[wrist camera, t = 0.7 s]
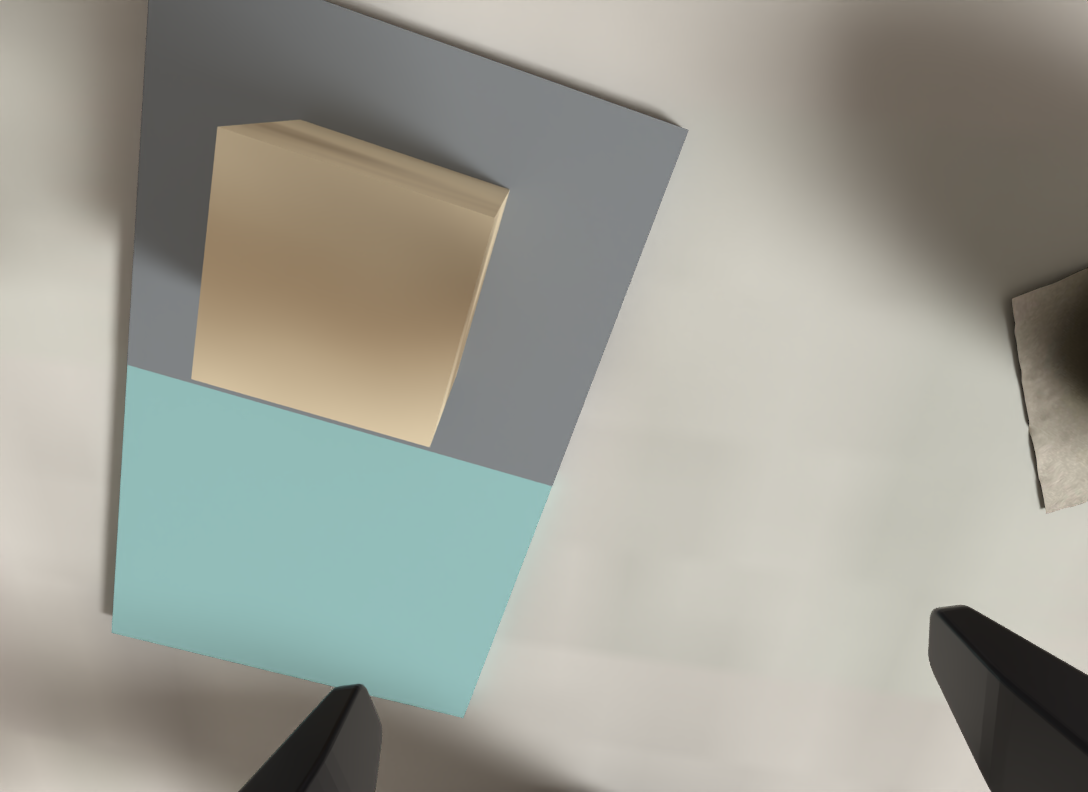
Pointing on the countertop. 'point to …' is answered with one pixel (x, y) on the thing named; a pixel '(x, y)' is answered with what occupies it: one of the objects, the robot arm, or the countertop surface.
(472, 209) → the beech block
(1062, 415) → the condiment
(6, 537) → the countertop surface
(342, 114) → the runner mat
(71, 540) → the countertop surface
